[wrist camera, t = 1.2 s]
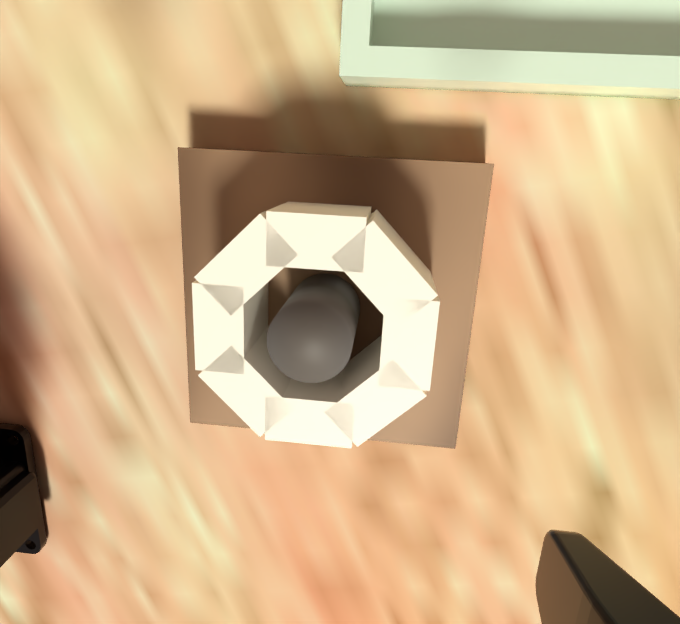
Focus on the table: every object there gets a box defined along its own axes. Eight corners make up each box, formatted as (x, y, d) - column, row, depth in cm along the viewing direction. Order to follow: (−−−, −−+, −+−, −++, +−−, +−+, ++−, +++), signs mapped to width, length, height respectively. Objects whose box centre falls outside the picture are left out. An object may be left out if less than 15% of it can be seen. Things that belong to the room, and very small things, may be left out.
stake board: (204, 404, 21) (147, 478, 16) (195, 147, 18) (122, 145, 13) (450, 427, 20) (468, 513, 15) (485, 163, 17) (521, 165, 12)
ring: (227, 390, 19) (197, 432, 16) (224, 197, 17) (188, 206, 14) (417, 408, 18) (422, 455, 15) (439, 210, 16) (448, 222, 13)
